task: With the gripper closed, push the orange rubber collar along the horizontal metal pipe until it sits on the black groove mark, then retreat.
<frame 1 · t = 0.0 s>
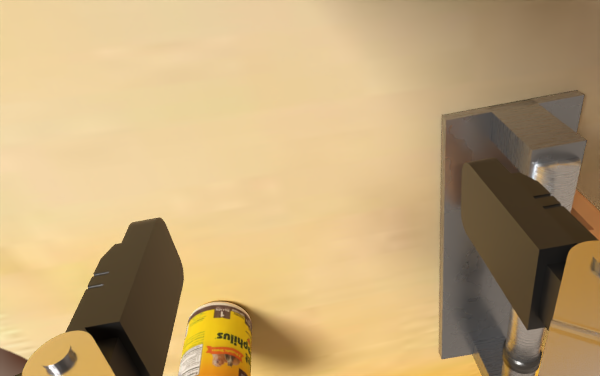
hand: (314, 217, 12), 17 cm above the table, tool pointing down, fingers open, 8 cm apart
collar: (559, 261, 27), point 8 cm above the table, slide at -6.0 cm
pipe stand: (494, 247, 37), on the table
supplement bottle: (220, 317, 39), on the table
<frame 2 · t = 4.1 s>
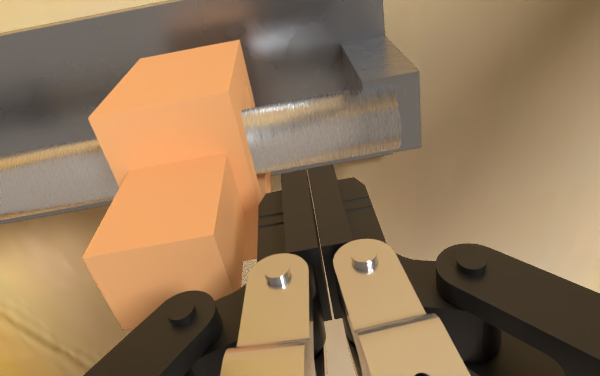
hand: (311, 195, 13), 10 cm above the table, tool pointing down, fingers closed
collar: (194, 178, 15), point 8 cm above the table, slide at -4.9 cm, touching gripper
pipe stand: (119, 113, 22), on the table
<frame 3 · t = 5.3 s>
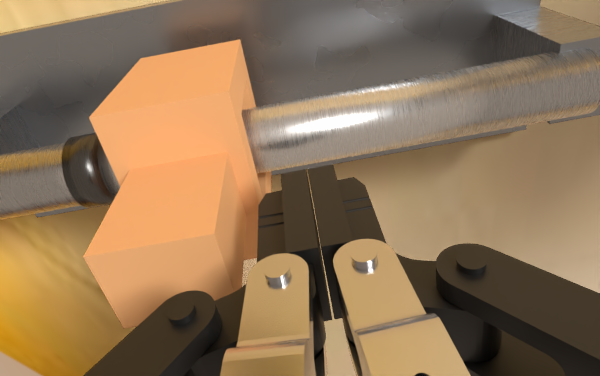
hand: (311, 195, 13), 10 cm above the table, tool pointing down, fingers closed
collar: (195, 177, 15), point 8 cm above the table, slide at 2.0 cm, touching gripper
pipe stand: (258, 87, 21), on the table
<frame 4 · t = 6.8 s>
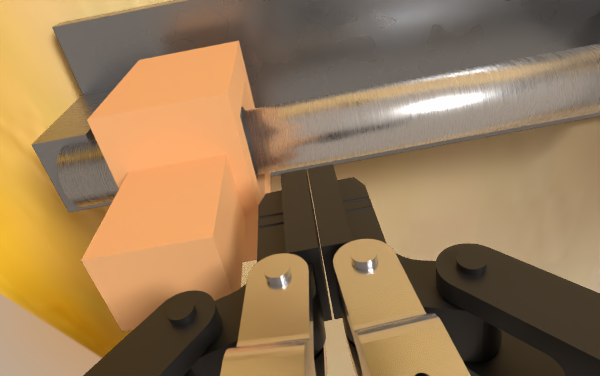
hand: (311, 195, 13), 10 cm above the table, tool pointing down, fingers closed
collar: (193, 179, 15), point 8 cm above the table, slide at 7.2 cm, touching gripper
pipe stand: (364, 67, 21), on the table
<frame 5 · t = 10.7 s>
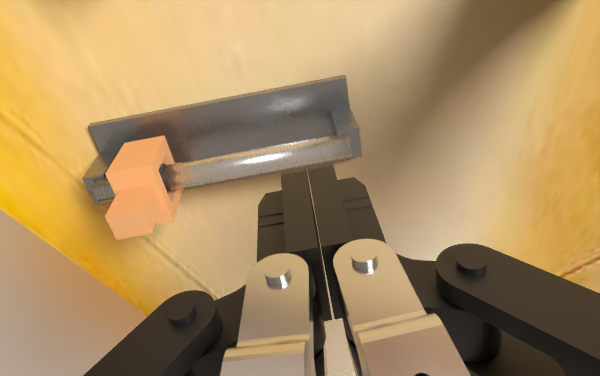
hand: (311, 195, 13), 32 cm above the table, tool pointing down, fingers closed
collar: (143, 192, 40), point 8 cm above the table, slide at 7.2 cm
pipe stand: (227, 139, 47), on the table
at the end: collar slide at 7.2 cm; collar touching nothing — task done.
